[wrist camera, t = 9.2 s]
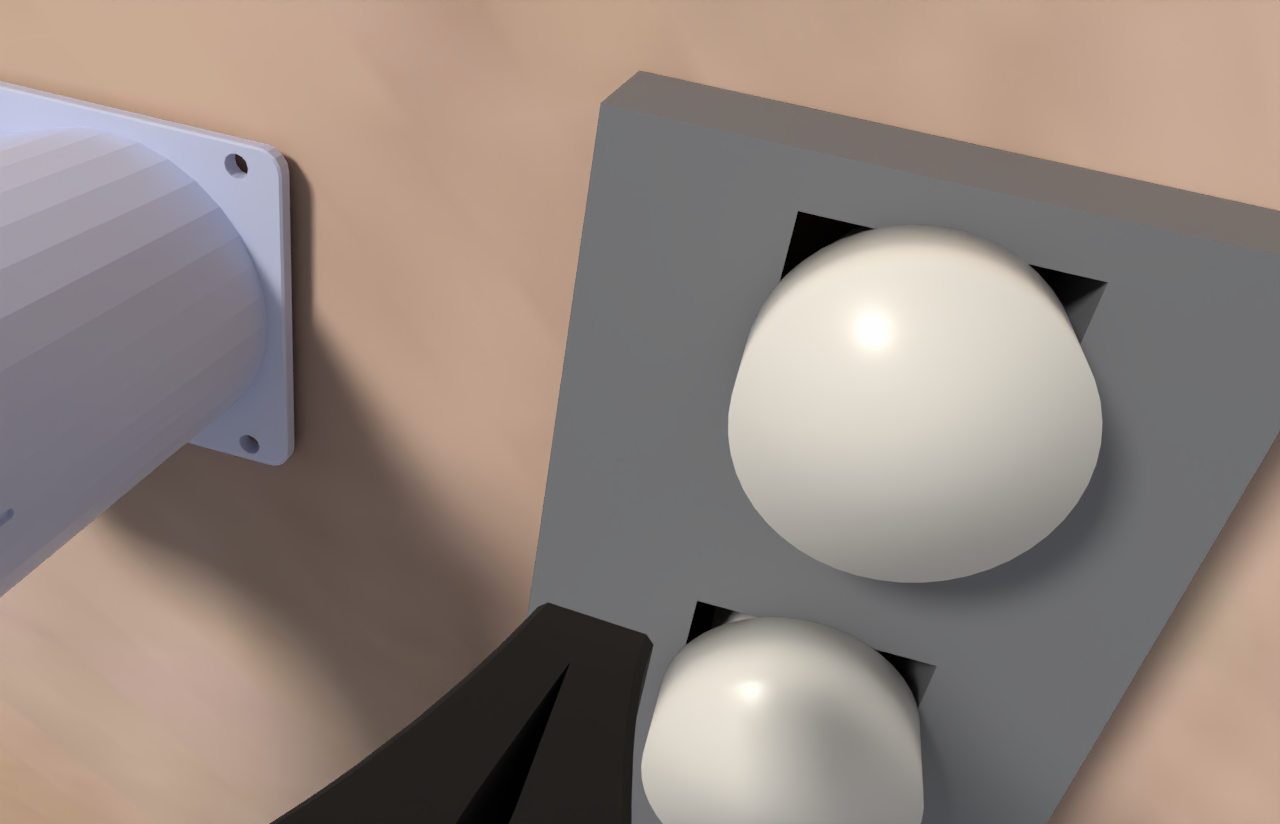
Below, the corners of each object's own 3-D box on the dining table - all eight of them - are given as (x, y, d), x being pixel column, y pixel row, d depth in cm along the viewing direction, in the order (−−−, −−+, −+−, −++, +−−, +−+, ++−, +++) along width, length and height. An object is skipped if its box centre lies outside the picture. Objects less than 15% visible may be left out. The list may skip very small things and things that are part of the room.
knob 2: (664, 676, 26) (621, 839, 21) (706, 506, 23) (667, 653, 18) (876, 736, 25) (876, 915, 21) (947, 569, 22) (964, 736, 18)
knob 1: (733, 399, 21) (697, 532, 17) (797, 145, 18) (772, 228, 14) (991, 464, 21) (1021, 619, 16) (1098, 212, 18) (1168, 320, 14)
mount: (513, 856, 31) (480, 947, 28) (638, 71, 18) (600, 103, 16) (894, 972, 29) (895, 1078, 27) (1298, 215, 17) (1372, 276, 15)
